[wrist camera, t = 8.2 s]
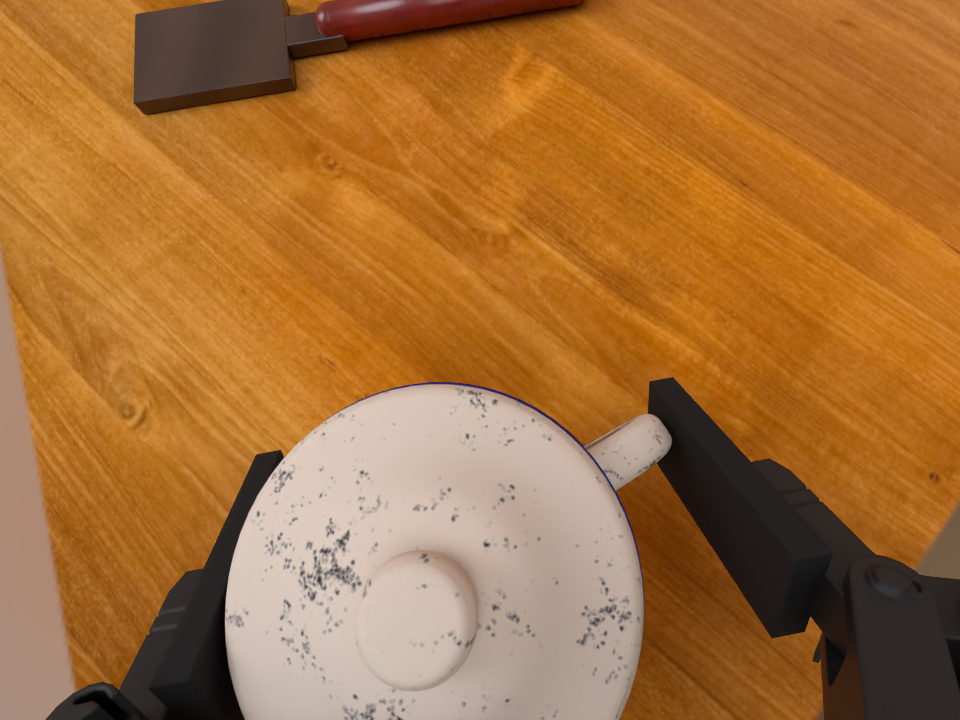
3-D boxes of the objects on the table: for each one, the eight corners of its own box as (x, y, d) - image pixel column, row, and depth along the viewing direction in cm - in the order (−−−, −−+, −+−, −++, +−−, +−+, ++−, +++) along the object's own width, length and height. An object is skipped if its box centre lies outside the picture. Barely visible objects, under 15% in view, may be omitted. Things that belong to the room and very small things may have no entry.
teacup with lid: (413, 725, 17) (259, 1211, 5) (307, 499, 19) (40, 516, 8) (681, 544, 18) (993, 635, 7) (554, 353, 20) (634, 187, 9)
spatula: (144, 115, 24) (117, 86, 22) (145, 27, 26) (120, -6, 24) (600, 40, 25) (608, 6, 23) (574, -41, 26) (580, -78, 25)
